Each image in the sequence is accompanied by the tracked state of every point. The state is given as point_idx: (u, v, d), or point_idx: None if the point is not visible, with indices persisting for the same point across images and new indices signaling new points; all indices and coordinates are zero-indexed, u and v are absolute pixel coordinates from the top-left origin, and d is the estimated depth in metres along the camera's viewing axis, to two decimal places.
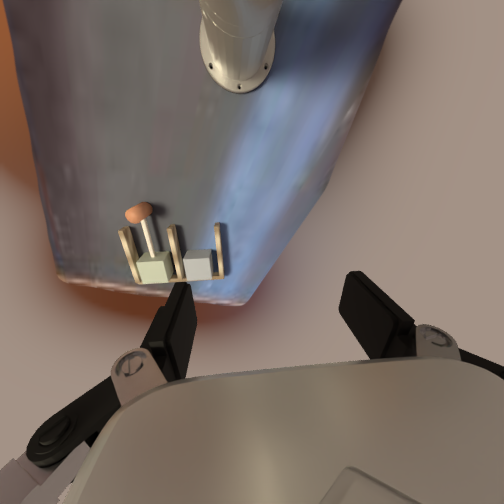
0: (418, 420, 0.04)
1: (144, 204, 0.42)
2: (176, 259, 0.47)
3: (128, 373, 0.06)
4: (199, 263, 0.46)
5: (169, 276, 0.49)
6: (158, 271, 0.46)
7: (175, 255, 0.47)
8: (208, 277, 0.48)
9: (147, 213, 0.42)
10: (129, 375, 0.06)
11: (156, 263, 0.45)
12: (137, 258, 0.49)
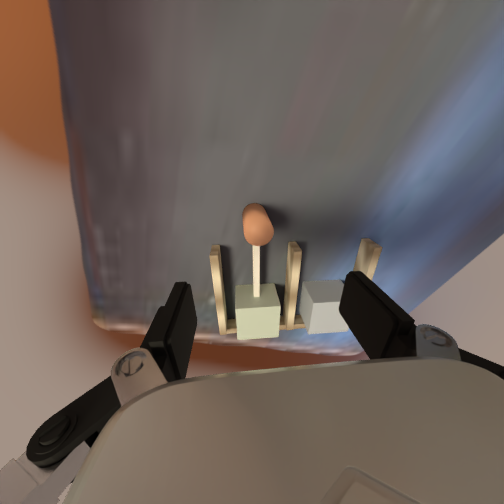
0: (418, 420, 0.04)
1: (261, 208, 0.23)
2: (294, 299, 0.28)
3: (128, 373, 0.06)
4: (338, 308, 0.27)
5: None
6: (268, 321, 0.27)
7: (294, 293, 0.28)
8: (343, 328, 0.29)
9: None
10: (129, 375, 0.06)
11: (268, 310, 0.26)
12: (224, 295, 0.30)
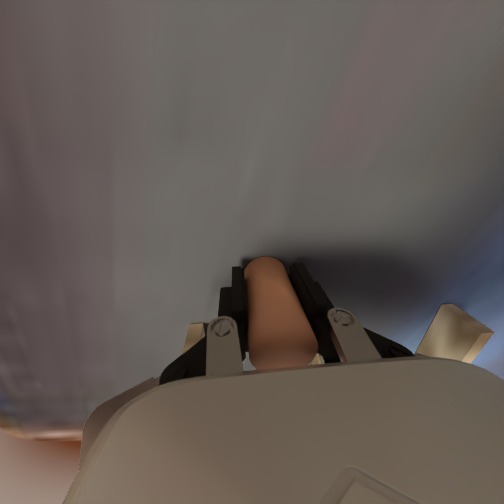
0: (418, 420, 0.04)
1: (280, 271, 0.12)
2: None
3: (217, 333, 0.08)
4: None
5: None
6: None
7: None
8: None
9: None
10: (218, 335, 0.08)
11: None
12: None
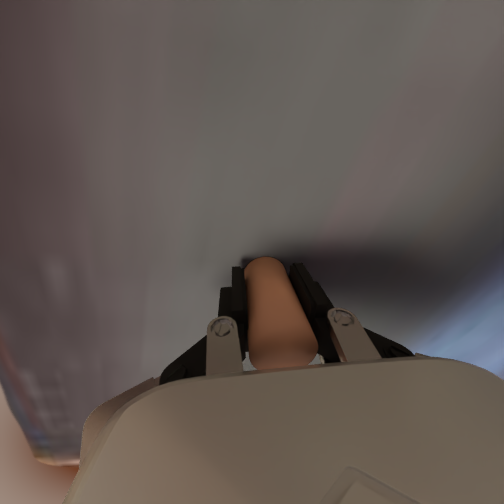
0: (418, 420, 0.04)
1: (280, 271, 0.12)
2: None
3: (217, 333, 0.08)
4: None
5: None
6: None
7: None
8: None
9: None
10: (218, 335, 0.08)
11: None
12: None
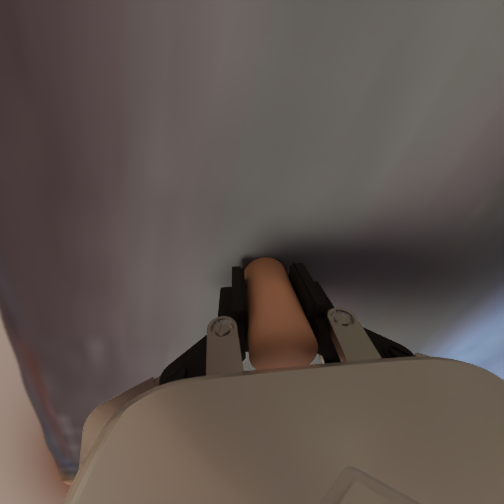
0: (418, 420, 0.04)
1: (280, 272, 0.12)
2: None
3: (218, 333, 0.08)
4: None
5: None
6: None
7: None
8: None
9: None
10: (218, 335, 0.08)
11: None
12: None
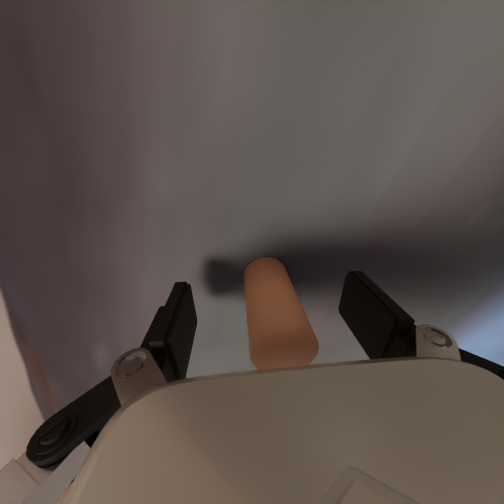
0: (418, 420, 0.04)
1: (280, 271, 0.12)
2: None
3: (128, 373, 0.06)
4: None
5: None
6: None
7: None
8: None
9: None
10: (129, 375, 0.06)
11: None
12: None
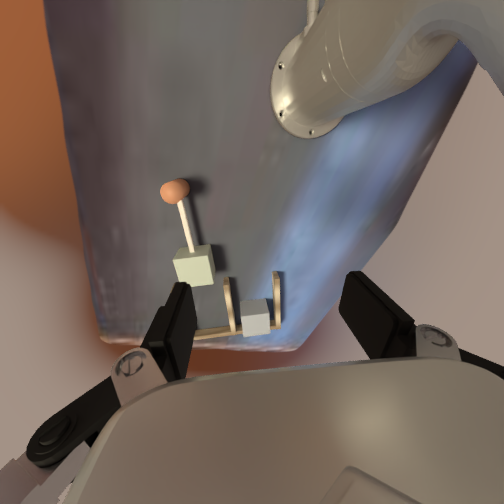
0: (418, 420, 0.04)
1: (181, 180, 0.32)
2: (231, 314, 0.43)
3: (128, 373, 0.06)
4: (258, 318, 0.42)
5: (213, 276, 0.38)
6: (201, 270, 0.35)
7: (230, 310, 0.42)
8: (266, 331, 0.44)
9: (186, 191, 0.31)
10: (129, 375, 0.06)
11: (198, 259, 0.34)
12: None
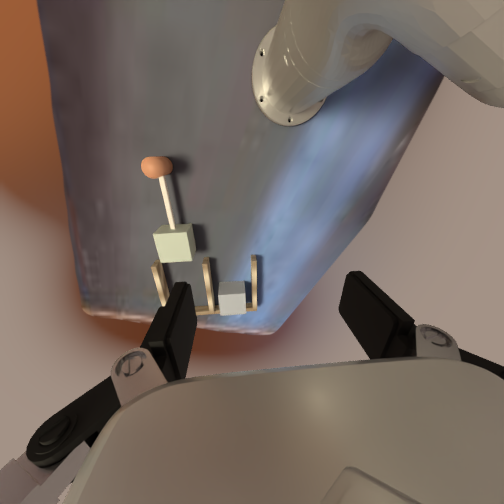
0: (418, 420, 0.04)
1: (163, 157, 0.33)
2: (209, 293, 0.45)
3: (128, 373, 0.06)
4: (234, 298, 0.44)
5: (192, 254, 0.39)
6: (180, 246, 0.37)
7: (209, 289, 0.44)
8: (242, 312, 0.46)
9: (167, 168, 0.33)
10: (129, 375, 0.06)
11: (178, 235, 0.36)
12: (167, 291, 0.46)
